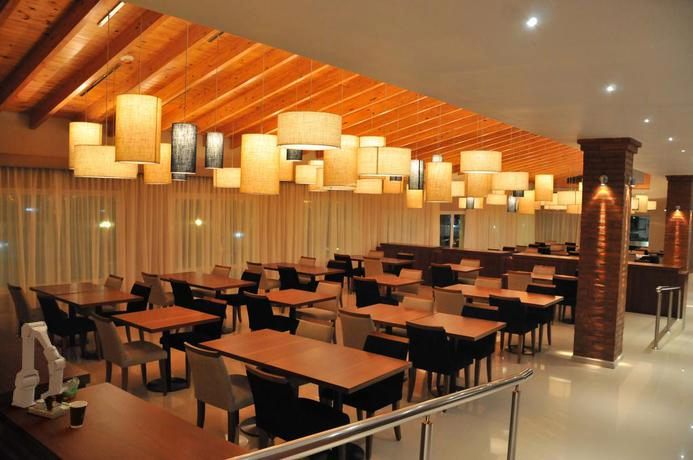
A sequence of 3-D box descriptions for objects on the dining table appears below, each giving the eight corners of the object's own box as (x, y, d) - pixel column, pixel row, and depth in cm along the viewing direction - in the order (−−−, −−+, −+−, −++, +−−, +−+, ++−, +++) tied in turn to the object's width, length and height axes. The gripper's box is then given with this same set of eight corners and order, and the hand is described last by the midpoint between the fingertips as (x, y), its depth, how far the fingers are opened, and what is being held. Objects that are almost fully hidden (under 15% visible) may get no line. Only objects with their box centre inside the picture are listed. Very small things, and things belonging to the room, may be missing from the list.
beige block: (34, 412, 265) (35, 400, 265) (41, 410, 269) (42, 398, 268) (40, 414, 263) (41, 402, 263) (47, 411, 267) (48, 400, 267)
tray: (41, 408, 270) (42, 406, 270) (57, 403, 279) (57, 400, 279) (58, 413, 266) (59, 410, 266) (74, 407, 275) (74, 404, 275)
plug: (52, 417, 261) (53, 406, 261) (46, 415, 262) (47, 404, 262) (59, 415, 265) (60, 403, 264) (53, 413, 266) (54, 401, 266)
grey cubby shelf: (28, 413, 263) (28, 407, 263) (42, 408, 271) (42, 402, 271) (52, 419, 258) (52, 413, 258) (65, 414, 266) (66, 408, 266)
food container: (70, 402, 282) (72, 384, 282) (59, 401, 282) (60, 383, 282) (82, 395, 294) (84, 377, 294) (71, 394, 294) (73, 376, 294)
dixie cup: (86, 428, 252) (88, 405, 252) (68, 430, 248) (70, 407, 248) (84, 421, 259) (86, 400, 259) (66, 424, 254) (68, 401, 254)
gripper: (49, 387, 255) (47, 415, 255) (73, 380, 269) (71, 406, 269) (38, 385, 257) (36, 412, 257) (63, 377, 271) (61, 403, 271)
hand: (53, 408), depth 263 cm, fingers open, 5 cm apart
